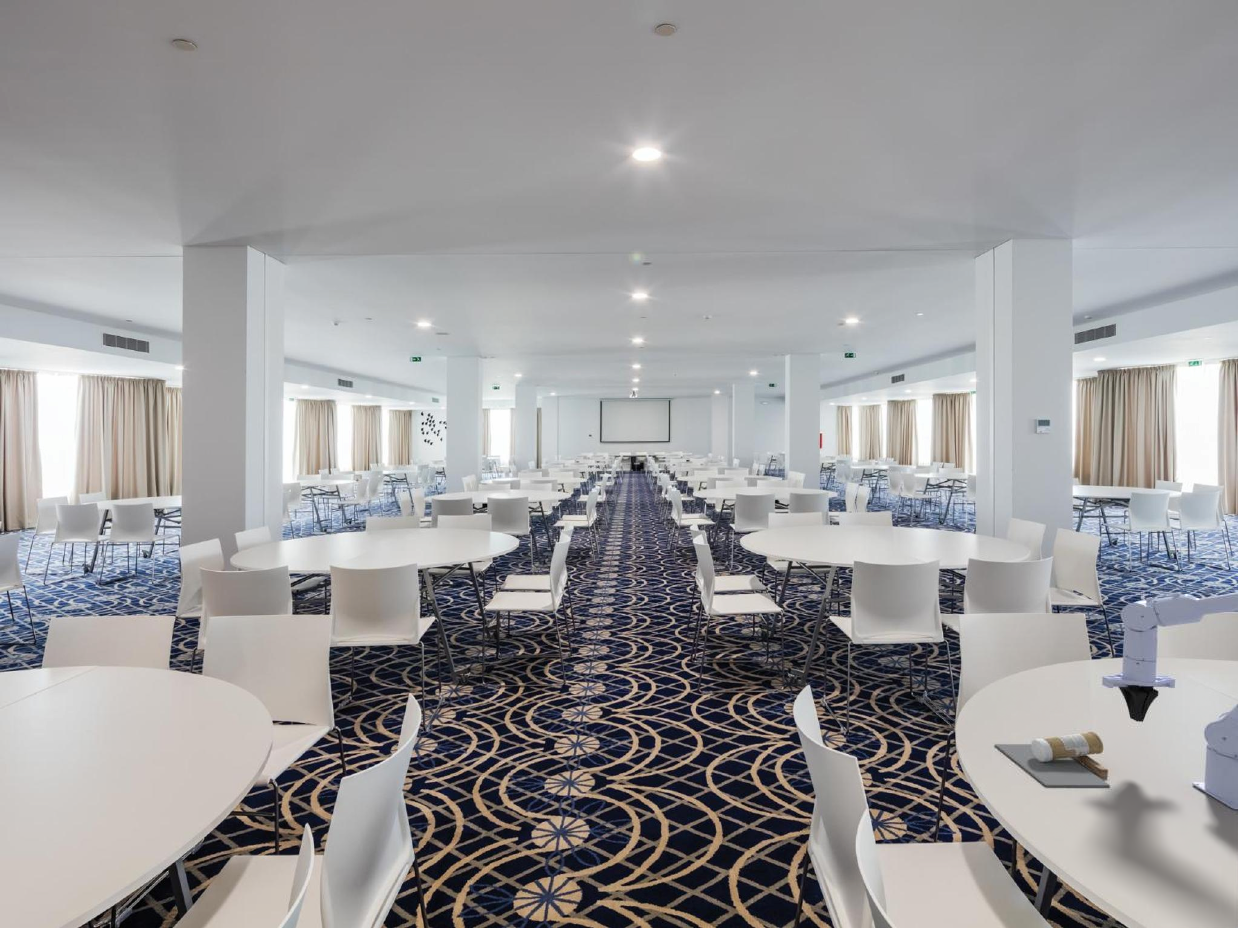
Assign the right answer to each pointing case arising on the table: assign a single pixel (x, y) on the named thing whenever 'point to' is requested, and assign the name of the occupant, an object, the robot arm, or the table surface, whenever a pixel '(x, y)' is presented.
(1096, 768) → the walnut rail
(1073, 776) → the rubber mat
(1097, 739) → the sprinkles bottle
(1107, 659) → the table surface
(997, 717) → the table surface
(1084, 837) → the table surface
